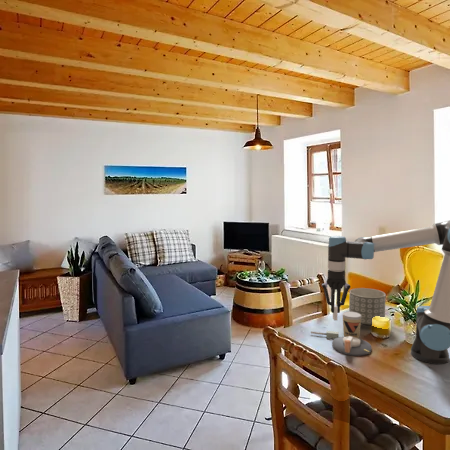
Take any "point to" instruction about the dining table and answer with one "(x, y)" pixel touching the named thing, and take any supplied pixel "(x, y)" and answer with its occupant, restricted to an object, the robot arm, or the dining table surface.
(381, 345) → the dining table surface
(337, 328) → the dining table surface
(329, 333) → the screwdriver
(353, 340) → the cream rounded piece
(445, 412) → the dining table surface
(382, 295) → the planter
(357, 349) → the dark grey round plate
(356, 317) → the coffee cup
